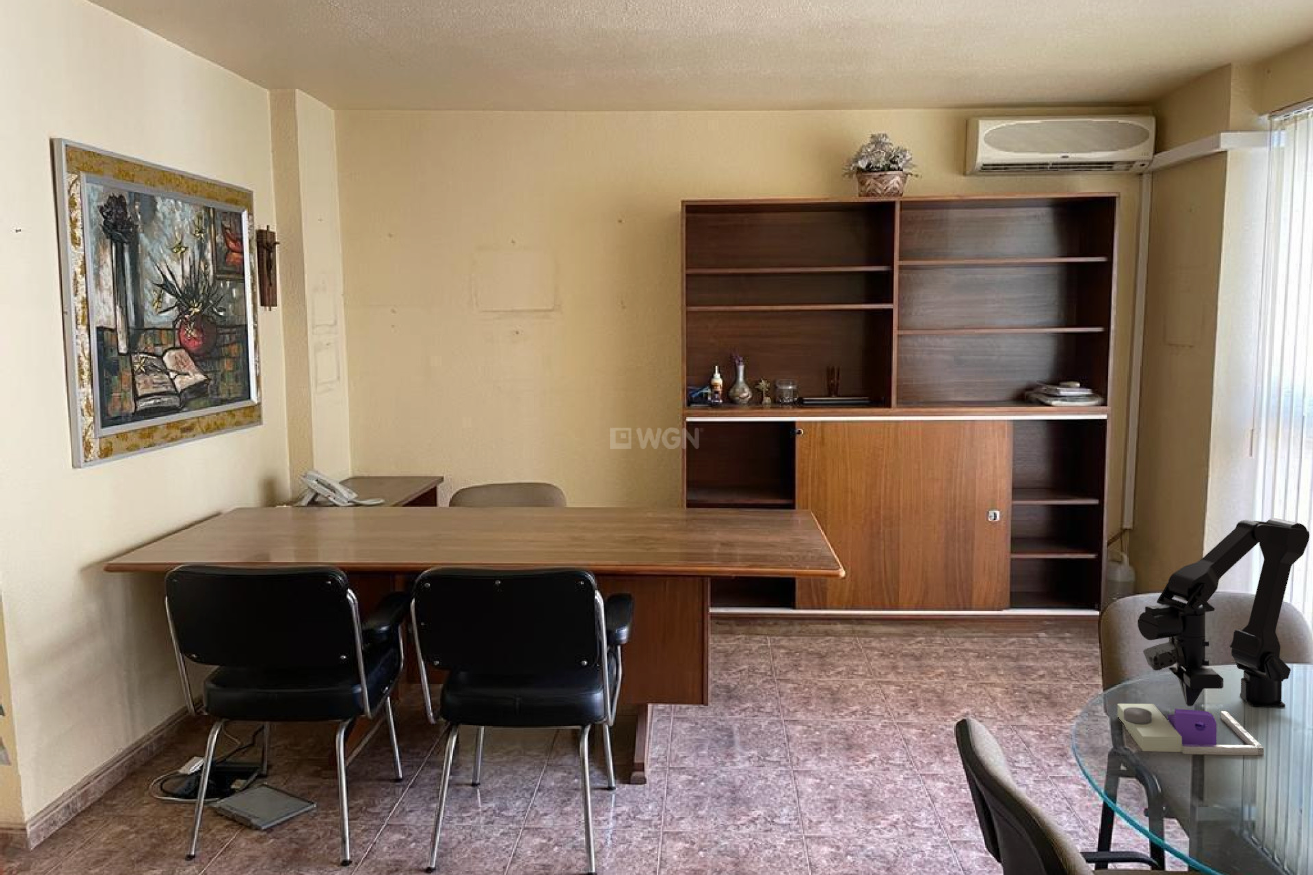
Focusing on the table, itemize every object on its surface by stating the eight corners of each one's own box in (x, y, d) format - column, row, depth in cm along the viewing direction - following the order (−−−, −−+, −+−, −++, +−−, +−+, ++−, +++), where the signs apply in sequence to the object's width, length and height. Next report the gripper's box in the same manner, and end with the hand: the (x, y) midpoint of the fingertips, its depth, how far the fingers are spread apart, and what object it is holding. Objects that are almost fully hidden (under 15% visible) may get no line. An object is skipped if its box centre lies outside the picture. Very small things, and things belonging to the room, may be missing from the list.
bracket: (1216, 749, 185) (1216, 715, 184) (1176, 746, 187) (1176, 712, 186) (1205, 724, 196) (1205, 692, 195) (1167, 721, 198) (1167, 689, 198)
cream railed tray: (1226, 718, 197) (1226, 697, 197) (1263, 755, 181) (1263, 732, 180) (1112, 717, 201) (1112, 696, 201) (1138, 753, 184) (1138, 730, 184)
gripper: (1133, 619, 209) (1133, 688, 210) (1164, 648, 190) (1164, 723, 192) (1188, 618, 207) (1188, 688, 209) (1224, 648, 188) (1224, 724, 190)
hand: (1189, 705), depth 200 cm, fingers closed
